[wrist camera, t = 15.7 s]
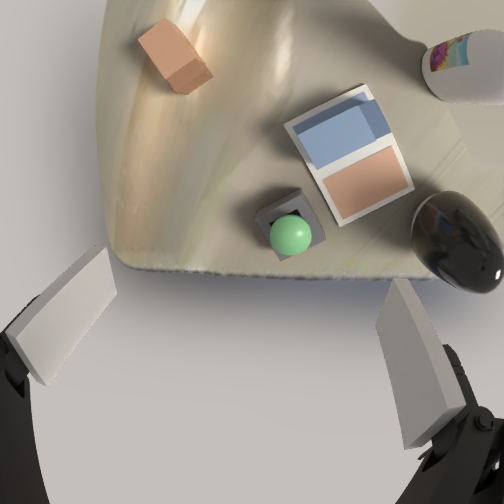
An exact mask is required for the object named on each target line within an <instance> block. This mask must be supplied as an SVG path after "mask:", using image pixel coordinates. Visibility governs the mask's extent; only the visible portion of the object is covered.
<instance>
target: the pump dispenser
mask: <svg viewBox="0 0 504 504" xmlns="http://www.w3.org/2000/svg"><path fill="white" fill-rule="evenodd" d="M411 235H412V246H413V249H414V252H415V254H416V256H417V258H418V259H419V260H420V262H421V263H422V264H423V265H424V266H425V267H426V268H427V269H428V270H430V271H431V272H432V273H433V274H434V275H436V276H437V277H438V278H440V279H441V280H443V281H445V282H446V283H448V284H450V285H452V286H453V287H455V288H457V289H459V290H461V291H464V292H467V293H471V294H478V295H483V294H488V293H490V292H492V291H494V290H495V289H496V288H497V287H498V286H499V285H500V283H501V282H502V280H503V278H504V248H503V245H502V242H501V240H500V238H499V235H498V234H497V232H496V230H495V228H494V227H493V225H492V224H491V222H490V221H489V219H488V218H487V217H486V215H485V214H484V213H483V212H482V211H481V210H480V209H479V208H478V207H477V206H476V205H475V204H474V203H473V202H472V201H471V200H470V199H469V198H467V197H466V196H464V195H463V194H461V193H458V192H455V191H444V192H440V193H436V194H433V195H431V196H429V197H428V198H426V199H425V200H424V201H423V202H422V203H421V204H420V205H419V207H418V208H417V210H416V212H415V214H414V217H413V221H412V227H411Z"/></svg>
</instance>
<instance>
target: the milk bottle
mask: <svg viewBox="0 0 504 504" xmlns="http://www.w3.org/2000/svg"><path fill="white" fill-rule="evenodd" d="M422 73H423V77H424V79H425V81H426V84H427V85H428V87H429V88H430V90H431V91H432V92H433V93H434V94H435V95H436V96H437V97H439V98H440V99H441V100H443V101H445V102H448V103H456V104H504V32H501V31H497V30H490V29H486V30H479V31H475V32H471V33H468V34H465V35H462V36H459V37H457V38H454V39H451V40H449V41H446V42H443V43H441V44H439V45H436V46H434V47H432V48H430V49H428V50H427V51H426V52H425V54H424V56H423V59H422Z"/></svg>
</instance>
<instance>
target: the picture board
mask: <svg viewBox="0 0 504 504" xmlns="http://www.w3.org/2000/svg"><path fill="white" fill-rule="evenodd" d="M372 99H374V97H373V95H372V94H371V92H370V90H369V88H368V87H367V85H366V84H365V85H362V86H360V87H358V88H355V89H353V90H351V91H349V92H347V93H344V94H342V95H340V96H338V97H336V98H334V99H332V100H330V101H328V102H326V103H323V104H321V105H319V106H317V107H315V108H313V109H311V110H310V111H308V112H306V113H304V114H302V115H300V116H298V117H296V118H294V119H292V120H290V121H289V122H287V123H285V124H283V125H284V127H285V129H286V130H287V132H288V134H289V135H290V137H291V139H292V140H293V142H294V144H295V145H296V147H297V149H298V150H299V152H300V154H301V155H302V157H303V159H304V161H305V162H306V164H307V166H308V168H309V170H310V171H311V173H312V175H313V177H314V179H315V180H316V182H317V184H318V186H319V188H320V190H321V191H322V193H323V195H324V197H325V199H326V201H327V203H328V205H329V207H330V209H331V211H332V213H333V215H334V217H335V219H336V221H337V223H338V225H339V227H341V226H343V225H345V224H347V223H350V222H352V221H354V220H356V219H358V218H360V217H362V216H364V215H366V214H368V213H370V212H372V211H374V210H376V209H378V208H380V207H382V206H384V205H386V204H388V203H390V202H392V201H394V200H395V199H397V198H399V197H401V196H403V195H405V194H407V193H409V192H411V191H413V190H415V188H414V185H413V183H412V180H411V177H410V175H409V172H408V170H407V167H406V165H405V162H404V160H403V157H402V155H401V153H400V150H399V148H398V146H397V143H396V141H395V139H394V137H393V135H392V133H389V134H387V135H385V136H383V137H380V138H378V139H376V141H375V142H373V143H371V144H369V145H366V146H364V147H362V148H360V149H358V150H356V151H354V152H352V153H350V154H348V155H346V156H344V157H342V158H340V159H338V160H336V161H334V162H332V163H330V164H328V165H326V166H324V167H322V168H320V169H318V170H317V169H316V167H315V165H314V164H313V162H312V160H311V158H310V157H309V155H308V153H307V151H306V150H305V148H304V146H303V144H302V143H301V141H300V139H299V138H298V136H297V133H299V132H301V131H303V130H305V129H307V128H309V127H311V126H313V125H314V124H316V123H318V122H320V121H322V120H324V119H326V118H328V117H330V116H333V115H335V114H337V113H339V112H341V111H343V110H345V109H347V108H349V107H353V106H356V105H358V104H360V103H362V102H365V101H368V100H372Z"/></svg>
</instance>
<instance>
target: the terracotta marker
mask: <svg viewBox="0 0 504 504" xmlns="http://www.w3.org/2000/svg"><path fill="white" fill-rule="evenodd" d="M138 41H139V42H140V44H141V45H142V47H143V48H144V49H145V51H146V52H147V54H148V55H149V57H150V58H151V60H152V61H153V62H154V64H155V65H156V67H157V68H158V70H159V71H160V73H161V74H162V76H163V77H164V79H165V80H167V81H168V82H169V84H170V85H171V87H172V88H173V90H174V91H175V92H176V93H181V94H186V95H188V94H189V93H191V92H192V91H193V90H195V89H196V88H198V87H199V86H201V85H202V84H204V83H205V82H207V81H208V80H210V79H211V78H213V75H212V74H211V72H210V71H209V70H208V68H207V67H206V65H205V63H204V61H203V60H202V58H201V57H200V56H199V54H198V53H197V52H196V50H195V49H194V47H193V46H192V45H191V43H190V42H189V41H188V39H187V38H186V37H185V36H184V34H183V33H182V32H181V30H180V29H179V28H178V27H177V26H176V25H175V24H173V23H172V22H170V21H169V20H167V19H166V18H164V19H163V20H162V21H160V22H159V23H158V24H156V25H155V26H154V27H152V28H151V29H150V30H148V31H147V32H146V33H145V34H143V35H142V36H141V37H140V38H139V39H138Z"/></svg>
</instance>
